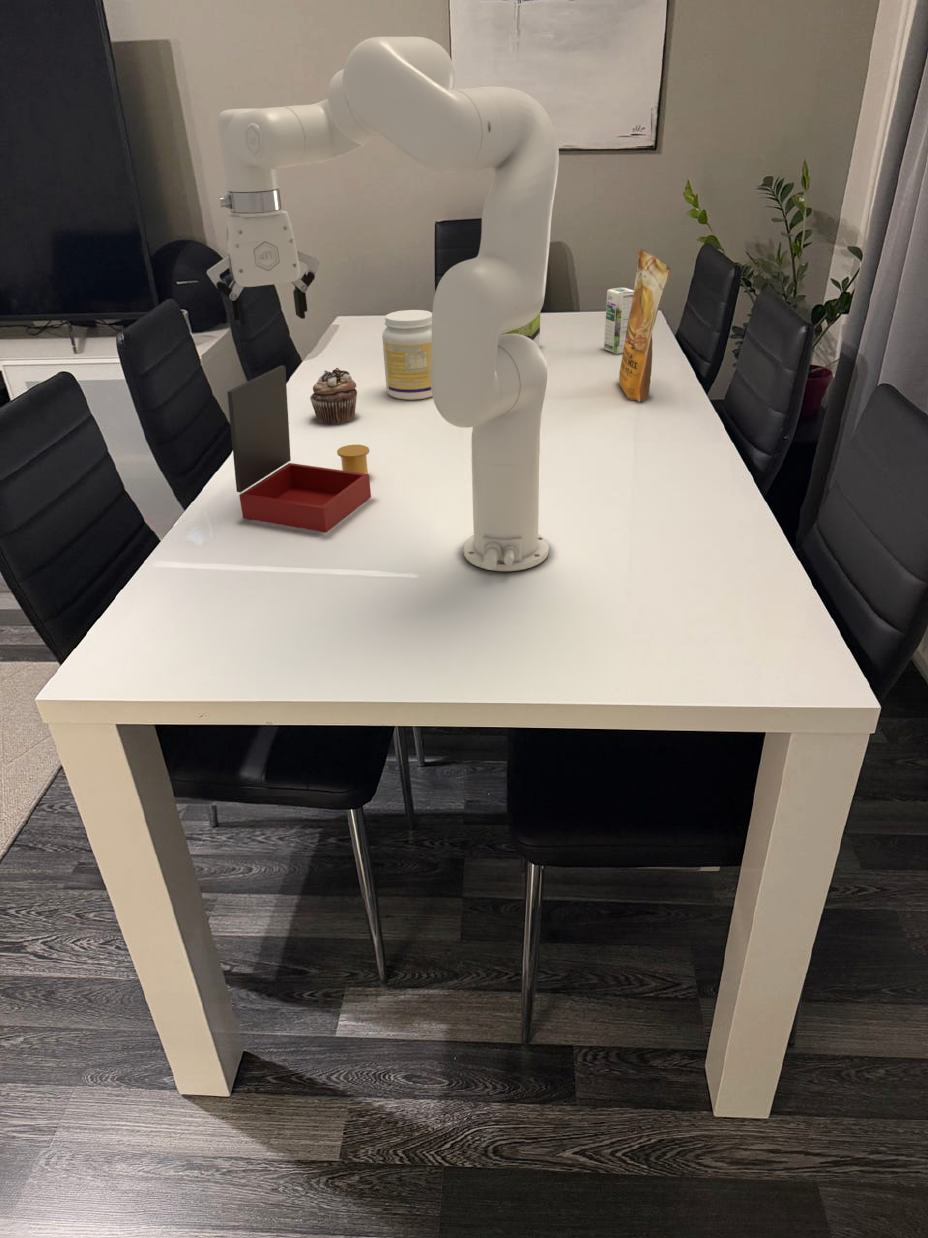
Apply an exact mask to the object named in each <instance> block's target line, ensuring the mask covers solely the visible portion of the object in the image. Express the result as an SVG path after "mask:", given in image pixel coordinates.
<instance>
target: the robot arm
mask: <svg viewBox="0 0 928 1238" xmlns="http://www.w3.org/2000/svg"><path fill="white" fill-rule="evenodd" d="M455 83H456V72H455V66H454V63H453V61H452V58H451V56H450V54H449V53H448V51H447V50H446V49H445V48H444V47H443V46H442V45H441V44H439V43H438V42H436V41H435V40H433V39H430V38H427V37H424V36H417V35H416V36H415V35H413V36H412V35H411V36H373V37H369V38H366V39H364V40H362V41H361V42H359V43H358V44H357V45H355V46H354V48H353V49H352V50H351V52H349V55H348V57H347V58H346V61H345V64H344V68H342V69H340V70H338V71H337V72H336V73H335V74H334V75H333V76H332V78H331V79H330V82H329V84H328V87H327V98H325V99H323V100H320V101H319V102H315V103H313V104H312V103H311V104H297V105H283V106H273V107H263V108H262V107H261V108H255V107H251V108H250V107H249V108H247V107H246V108H242V107H241V108H230V109H229V108H228V109H225V110H223V111H221V112H220V113H219V114H218V118H217V127H218V133H219V140H220V141H219V142H220V147H221V154H222V161H223V168H224V174H225V182H226V189H227V191H226V194H225V195H224V196H219V198H218V202H219V206H220V208H226V209H229V211H230V213H229V214H227V216H226V244H227V245H226V246H227V247H226V248H227V255H226V256H225V257H224V258H222V259H221V260H219V261H218V262H217V263H216V264H214V265H213V266H211V267H210V268H208V269H207V270H206V275H207V276H208V277H209V279H210V280H211V282H212V283H213V284H214V286H215V288H216V289H217V290H218V291H220V292H221V293H222V294H223V295H224V296H226V297H227V298H228V300H229V305H230V311H231V317H232V320H233V321H236V324H237V325H238V326H239V327H241V328H242V327H245V326H246V321H245V315H244V314H245V313H244V308H243V301H242V299H240V294H241V293H242V291H243V289H244V288H252V287H262V286H271V285H280V284H287V283H291V284H292V285H293V286H294V289H293V291H292V294H293V301H294V310H295V315H296V316H297V317H298V318H299V319H301V320H304V319H306V313H307V312H308V302H307V294H306V292H307V291H308V289H309V287H310V285H311V284H312V283H313V282H314V280H315V278H316V274H317V272H318V269H319V266H320V261H319V259H317V258H315V257H313V256H310V255H308V254H307V253H304V252H302V251H299V250H298V249H297V244H296V239H295V238H296V237H295V234H294V229H293V225H292V222H291V219H290V215H289V212H288V211H287V210H284V209H283V207H282V200H281V192H280V191H281V190H280V183H279V175H278V170H280V169H286V168H293V167H300V166H308V165H317V164H322V163H325V162H329V161H332V160H335V159H337V158H340V157H341V156H342V157H343V156H345V155H347V154H350V153H352V152H355V151H357V150H360V149H361V148H363V147H364V146H365V145H367V144H368V143H369V142H370V140H372V139H375V138H378V137H380V136H382V137H383V138H385V139H386V140H388V141H389V142H390V143H391V144H393V145H394V146H396V147H397V148H398V149H400V150H401V151H402V152H403V153H405V154H406V155H407V156H409V157H410V158H411V159H413V160H414V161H415V162H417V163H418V164H420V165H421V166H422V167H424V168H426V169H428V170H430V171H432V172H436V173H440V174H446V175H455V174H460V173H467V172H472V171H478V170H483V169H489V168H491V169H493V171H494V176H493V180H492V183H491V185H490V187H489V189H488V192H487V195H486V197H485V200H484V203H483V209H482V215H481V234H480V243H479V250H478V254H477V255H476V256H475V257H473V258H470V259H465V260H463V261H461V262H458V263H456V264H454V265H452V267H450V268H449V269H448V270H447V271H446V272H445V273H444V274H443V276H442V277H441V278H440V280H439V282H438V285H437V287H436V289H435V291H434V295H433V301H432V309H431V310H432V312H431V313H432V336H431V391H432V396H431V397H432V399H433V404H434V405H435V408H436V410H437V412H438V413H439V414H440V416H441V417H442V419H444V421H446V422H447V423H448V424H450V425H452V426H454V427H457V428H463V429H467V428H468V429H469V428H472V431H471V443H470V445H471V446H470V448H471V454H470V455H471V479H472V480H471V484H472V485H471V487H472V489H471V490H472V491H471V492H472V523H473V534H472V535H471V536H469V537H468V538H467V539H466V540H465V542H464V543H463V557H464V558H465V559H466V560H467V562H469V563H470V564H471V565H473V566H476V567H478V568H481V569H484V570H488V571H494V572H518V571H523V570H527V569H530V568H533V567H535V566H538V565H539V564H541V563H542V562H544V561H545V560H546V559H547V557H548V556H549V550H550V549H549V546H550V545H549V543H548V541H547V539H546V538H545V537H543V536H542V535H541V534H539V514H540V513H539V512H540V511H539V510H540V509H539V508H540V505H539V504H540V503H539V502H540V500H539V499H540V496H539V495H540V454H541V453H540V451H541V449H540V447H541V424H542V423H541V422H542V415H543V414H542V413H543V407H544V402H545V396H546V392H547V386H548V385H547V384H548V365H547V360H546V357H545V354H544V353H543V350H542V349H541V347H540V345H539V346H538V345H537V344H536V343H535V342H534V341H533V340H531V339H530V338H528V337H526V336H524V335H519V334H504V333H507V332H509V331H512V330H514V329H517V328H519V327H522V326H524V325H526V324H528V323H530V322H531V321H533V320H534V319H535V318H536V317H537V316H538V315H539V313H540V314H541V312H542V309H543V307H544V301H545V298H546V297H545V295H546V288H547V277H548V265H549V254H550V247H551V246H550V244H551V235H552V233H551V231H552V217H553V209H554V201H555V197H556V196H555V195H556V190H557V183H558V176H559V175H558V174H559V164H560V150H559V142H558V141H559V140H558V136H557V132H556V130H555V126H554V124H553V122H552V119H551V117H550V116H549V114H548V112H547V111H546V110H545V108H544V107H543V106H542V105H541V104H540V103H539V102H538V101H537V100H536V99H535V98H534V97H532V96H531V95H529V94H528V93H527V92H525V91H522V90H519V89H516V88H513V87H512V88H511V87H507V86H499V85H498V86H497V85H493V86H491V85H489V86H488V85H487V86H476V87H466V88H455ZM300 262H301V263H304V264H306V265H307V267H306V271H305V272H304V274H303V275H302V276H301V267H300ZM228 269H229V274H230V277H231V279H232V281H231V282H230V284H229V286H228V285H226V284H225V283H224V282H223V280H222V278H221V277H220V276H221V274H223V273H225V271H227V270H228ZM300 277H301V278H300ZM305 312H306V313H305ZM502 334H504V335H502Z"/></svg>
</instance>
